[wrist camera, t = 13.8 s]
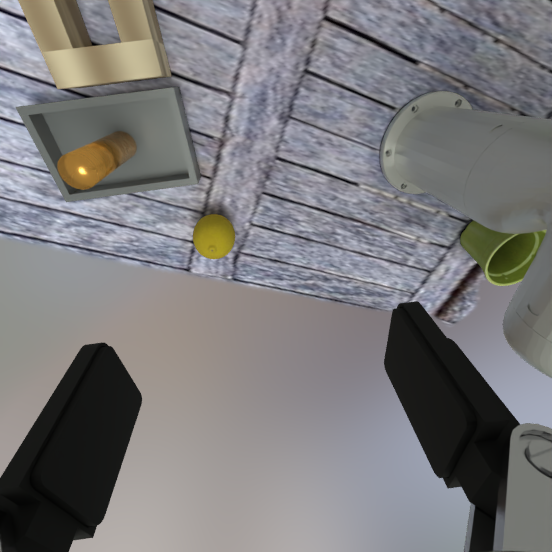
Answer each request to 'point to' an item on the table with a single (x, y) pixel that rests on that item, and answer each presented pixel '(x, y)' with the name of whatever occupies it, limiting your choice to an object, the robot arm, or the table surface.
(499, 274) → the plant pot
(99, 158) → the pin
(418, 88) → the table surface
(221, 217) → the lemon
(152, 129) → the tray
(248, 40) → the table surface
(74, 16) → the pin block
